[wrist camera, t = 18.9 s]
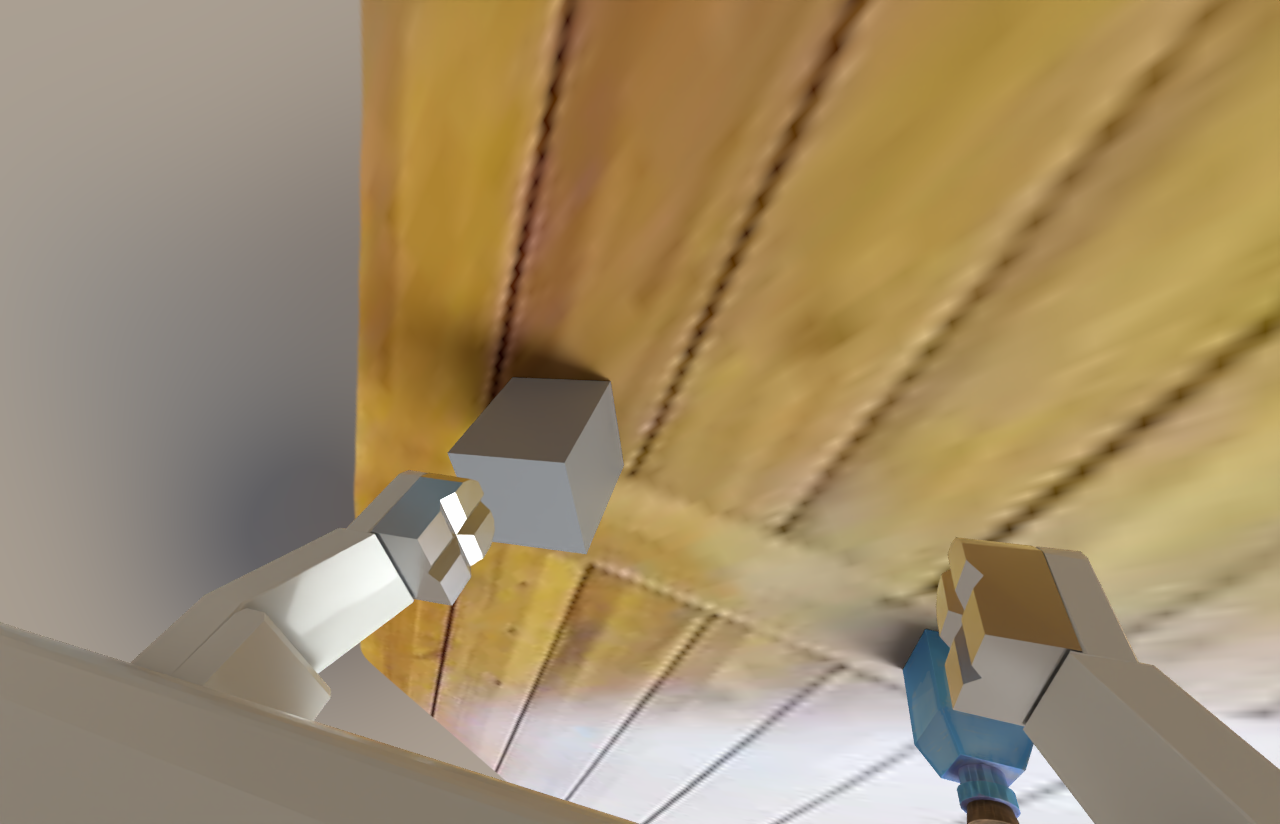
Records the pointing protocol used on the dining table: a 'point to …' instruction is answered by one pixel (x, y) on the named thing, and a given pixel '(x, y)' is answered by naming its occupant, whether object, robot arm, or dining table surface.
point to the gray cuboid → (544, 461)
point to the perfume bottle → (963, 739)
